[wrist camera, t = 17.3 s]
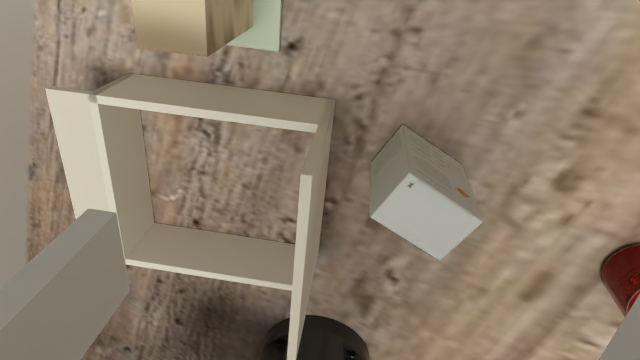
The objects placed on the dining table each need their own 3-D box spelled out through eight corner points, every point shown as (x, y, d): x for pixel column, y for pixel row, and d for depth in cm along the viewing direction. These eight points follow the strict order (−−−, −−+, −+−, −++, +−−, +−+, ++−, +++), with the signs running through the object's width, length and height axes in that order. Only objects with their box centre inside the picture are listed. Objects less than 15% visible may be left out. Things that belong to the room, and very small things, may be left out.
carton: (318, 253, 53) (295, 365, 39) (118, 222, 54) (27, 319, 40) (335, 99, 43) (312, 175, 29) (91, 68, 45) (-41, 126, 31)
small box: (369, 161, 46) (366, 217, 37) (403, 121, 43) (408, 170, 34) (428, 201, 47) (439, 263, 38) (464, 164, 44) (485, 222, 35)
